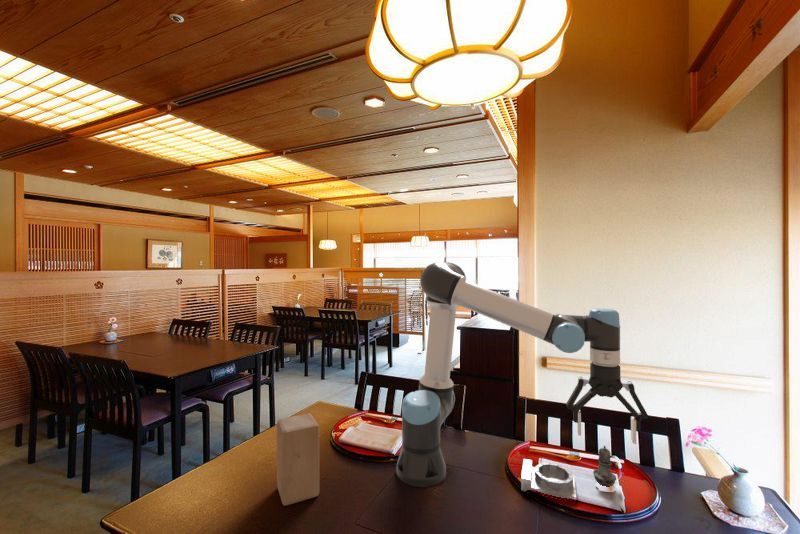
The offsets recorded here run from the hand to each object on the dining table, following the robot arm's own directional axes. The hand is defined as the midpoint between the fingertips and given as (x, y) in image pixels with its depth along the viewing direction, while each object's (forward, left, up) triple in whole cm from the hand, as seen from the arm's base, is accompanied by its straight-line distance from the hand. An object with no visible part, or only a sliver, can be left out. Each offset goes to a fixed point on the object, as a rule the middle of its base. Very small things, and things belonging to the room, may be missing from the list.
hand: (605, 437), depth 103 cm
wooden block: (-80, -35, -15) cm, 89 cm away
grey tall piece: (0, 0, -15) cm, 15 cm away
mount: (-15, -5, -14) cm, 22 cm away
